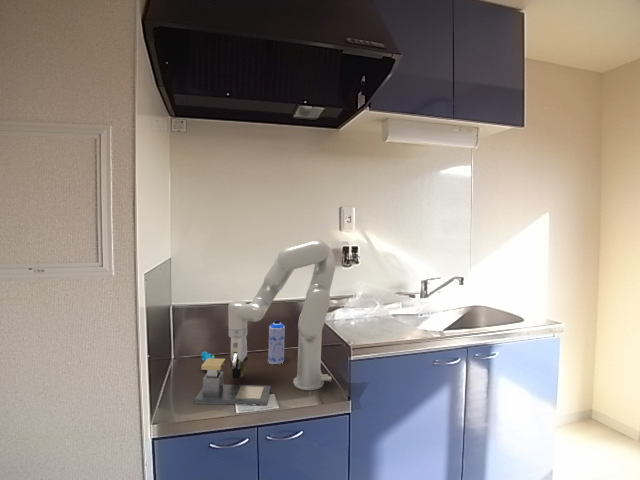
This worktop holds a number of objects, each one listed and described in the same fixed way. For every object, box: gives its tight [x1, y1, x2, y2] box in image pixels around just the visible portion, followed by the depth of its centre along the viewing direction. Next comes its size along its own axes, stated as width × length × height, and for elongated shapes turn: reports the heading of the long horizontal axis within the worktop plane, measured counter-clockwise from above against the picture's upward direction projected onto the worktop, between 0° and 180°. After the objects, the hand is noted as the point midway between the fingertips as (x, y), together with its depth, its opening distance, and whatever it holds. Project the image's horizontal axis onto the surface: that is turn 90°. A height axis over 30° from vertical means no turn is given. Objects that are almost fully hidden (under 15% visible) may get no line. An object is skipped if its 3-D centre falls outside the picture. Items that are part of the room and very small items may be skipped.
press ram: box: [200, 357, 226, 378], centre depth 132 cm, size 7×7×8 cm
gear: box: [200, 351, 215, 362], centre depth 156 cm, size 11×6×10 cm
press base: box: [193, 371, 271, 406], centre depth 132 cm, size 26×12×8 cm, turn 91°
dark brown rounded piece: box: [229, 356, 249, 380], centre depth 144 cm, size 8×7×8 cm
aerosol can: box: [267, 318, 286, 365], centre depth 166 cm, size 8×8×20 cm
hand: (238, 373), depth 144 cm, fingers closed on dark brown rounded piece, 6 cm apart
